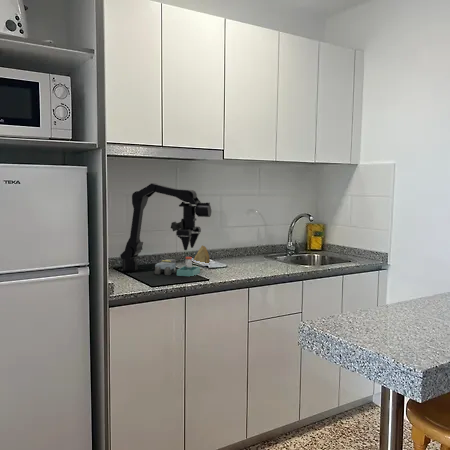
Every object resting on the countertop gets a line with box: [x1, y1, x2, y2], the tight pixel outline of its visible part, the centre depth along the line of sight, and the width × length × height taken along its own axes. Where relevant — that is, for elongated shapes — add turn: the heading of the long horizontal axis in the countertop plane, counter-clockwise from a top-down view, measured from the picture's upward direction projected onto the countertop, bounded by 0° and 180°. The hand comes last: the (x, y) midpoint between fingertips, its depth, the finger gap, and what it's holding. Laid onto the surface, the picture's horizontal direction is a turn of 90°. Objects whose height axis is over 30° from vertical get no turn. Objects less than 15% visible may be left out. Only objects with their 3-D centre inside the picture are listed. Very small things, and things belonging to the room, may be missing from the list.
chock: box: [160, 258, 177, 264], centre depth 228 cm, size 5×8×5 cm, turn 165°
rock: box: [193, 245, 211, 263], centre depth 246 cm, size 11×9×10 cm
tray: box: [176, 265, 201, 277], centre depth 217 cm, size 8×10×3 cm
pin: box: [185, 256, 193, 271], centre depth 217 cm, size 3×3×8 cm
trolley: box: [154, 261, 177, 276], centre depth 218 cm, size 8×10×5 cm
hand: (188, 248), depth 216 cm, fingers open, 9 cm apart
